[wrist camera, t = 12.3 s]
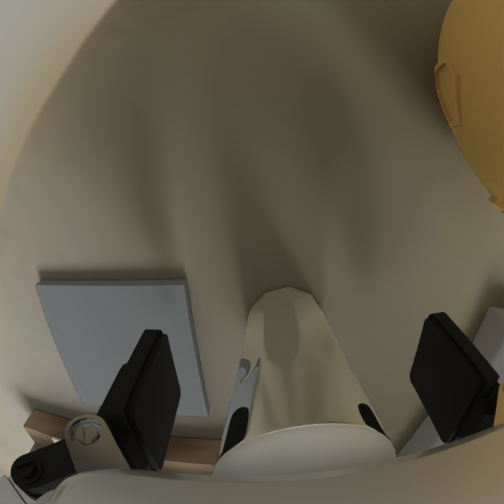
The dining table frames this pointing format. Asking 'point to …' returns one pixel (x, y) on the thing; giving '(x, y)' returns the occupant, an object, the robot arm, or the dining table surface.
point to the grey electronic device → (495, 352)
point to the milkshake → (296, 397)
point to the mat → (122, 332)
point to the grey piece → (177, 456)
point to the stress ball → (475, 86)
